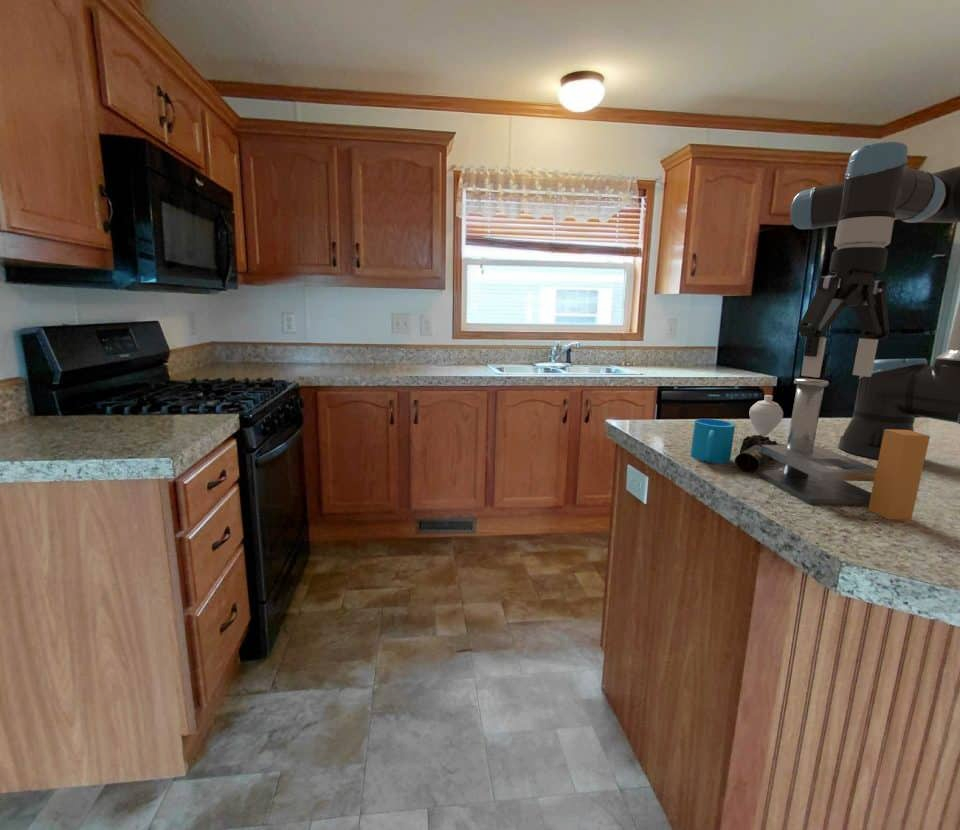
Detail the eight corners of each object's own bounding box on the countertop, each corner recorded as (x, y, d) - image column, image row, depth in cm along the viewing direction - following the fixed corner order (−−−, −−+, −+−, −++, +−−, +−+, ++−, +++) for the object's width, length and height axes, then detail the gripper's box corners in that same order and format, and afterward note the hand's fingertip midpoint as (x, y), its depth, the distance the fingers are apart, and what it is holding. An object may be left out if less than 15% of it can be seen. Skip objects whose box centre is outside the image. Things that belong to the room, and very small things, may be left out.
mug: (692, 451, 120) (696, 417, 118) (730, 456, 116) (735, 422, 114) (686, 463, 109) (690, 426, 108) (728, 470, 105) (733, 432, 104)
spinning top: (785, 444, 129) (793, 398, 127) (760, 444, 128) (767, 398, 125) (763, 436, 137) (770, 392, 134) (738, 437, 135) (745, 392, 132)
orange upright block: (890, 509, 86) (907, 429, 83) (911, 519, 82) (930, 435, 79) (868, 509, 86) (884, 429, 83) (887, 519, 82) (905, 435, 79)
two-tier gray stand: (817, 474, 105) (834, 379, 101) (888, 506, 88) (912, 393, 84) (752, 472, 104) (766, 377, 100) (811, 505, 87) (831, 391, 83)
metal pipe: (758, 476, 103) (762, 449, 102) (723, 469, 107) (726, 443, 106) (779, 459, 116) (783, 435, 114) (747, 453, 120) (750, 430, 119)
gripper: (882, 256, 92) (859, 372, 96) (786, 243, 82) (766, 373, 86) (931, 252, 85) (904, 378, 89) (833, 238, 75) (808, 379, 80)
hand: (836, 376), depth 88 cm, fingers open, 13 cm apart
